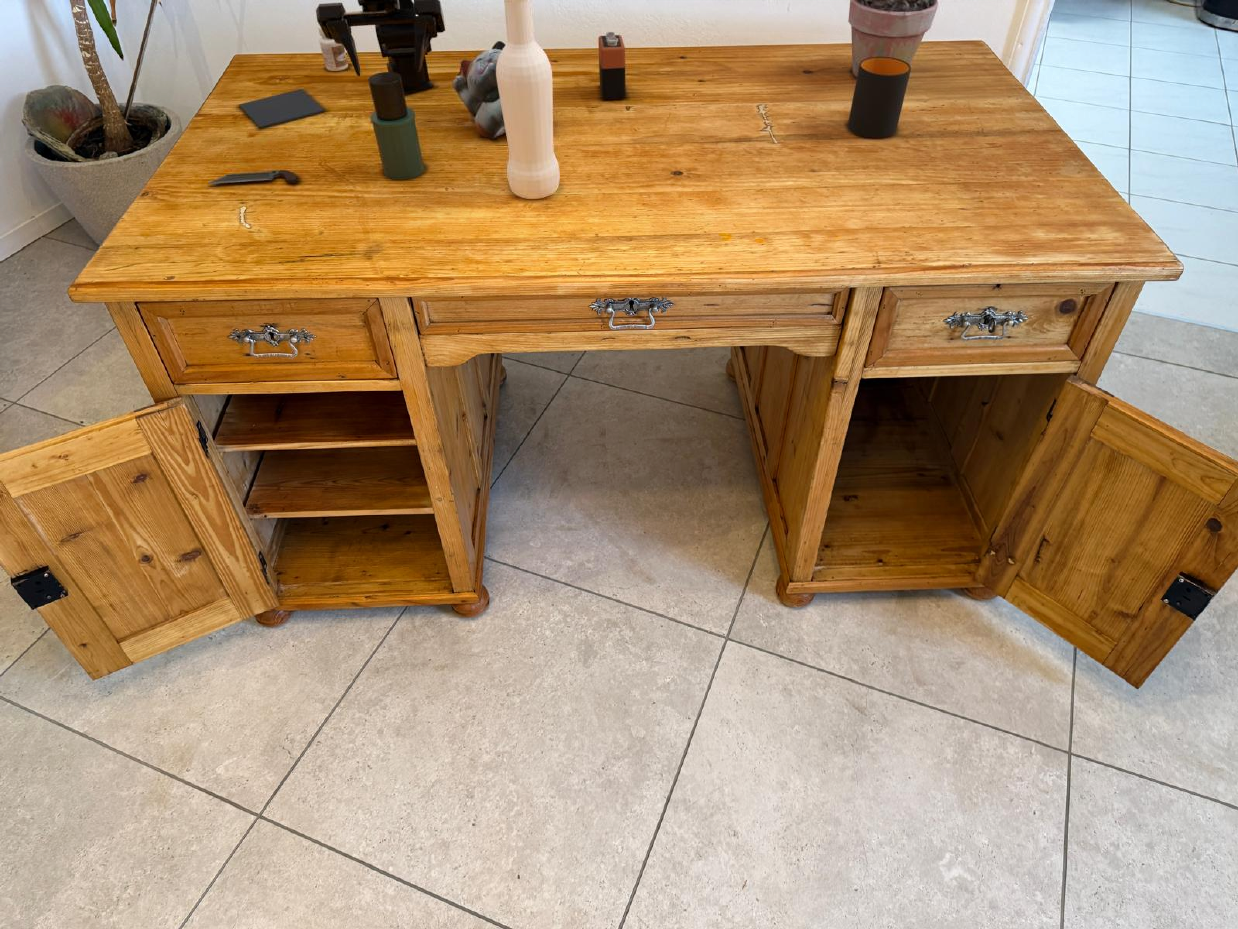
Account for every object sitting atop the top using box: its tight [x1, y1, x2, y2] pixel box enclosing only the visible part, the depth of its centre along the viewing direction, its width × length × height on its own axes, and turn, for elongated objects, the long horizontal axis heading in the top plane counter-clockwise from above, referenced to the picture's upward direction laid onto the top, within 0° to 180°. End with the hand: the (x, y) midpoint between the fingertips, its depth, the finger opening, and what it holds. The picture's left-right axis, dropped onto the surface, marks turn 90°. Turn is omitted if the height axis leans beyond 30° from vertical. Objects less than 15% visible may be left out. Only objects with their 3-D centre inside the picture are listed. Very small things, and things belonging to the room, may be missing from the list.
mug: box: [847, 57, 912, 140], centre depth 138 cm, size 8×12×10 cm
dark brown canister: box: [367, 71, 416, 128], centre depth 123 cm, size 7×7×7 cm
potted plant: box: [847, 0, 939, 78], centre depth 148 cm, size 18×20×25 cm
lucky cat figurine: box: [451, 40, 506, 140], centre depth 139 cm, size 15×12×14 cm
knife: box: [208, 169, 299, 185], centre depth 129 cm, size 14×4×1 cm, turn 97°
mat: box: [238, 88, 325, 130], centre depth 149 cm, size 12×12×1 cm
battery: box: [597, 31, 627, 101], centre depth 148 cm, size 4×7×10 cm, turn 6°
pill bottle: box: [317, 25, 349, 72], centre depth 160 cm, size 4×4×8 cm
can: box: [372, 118, 425, 181], centre depth 129 cm, size 6×6×8 cm
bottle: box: [496, 0, 561, 200], centre depth 116 cm, size 8×8×30 cm
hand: (388, 72), depth 126 cm, fingers open, 9 cm apart
